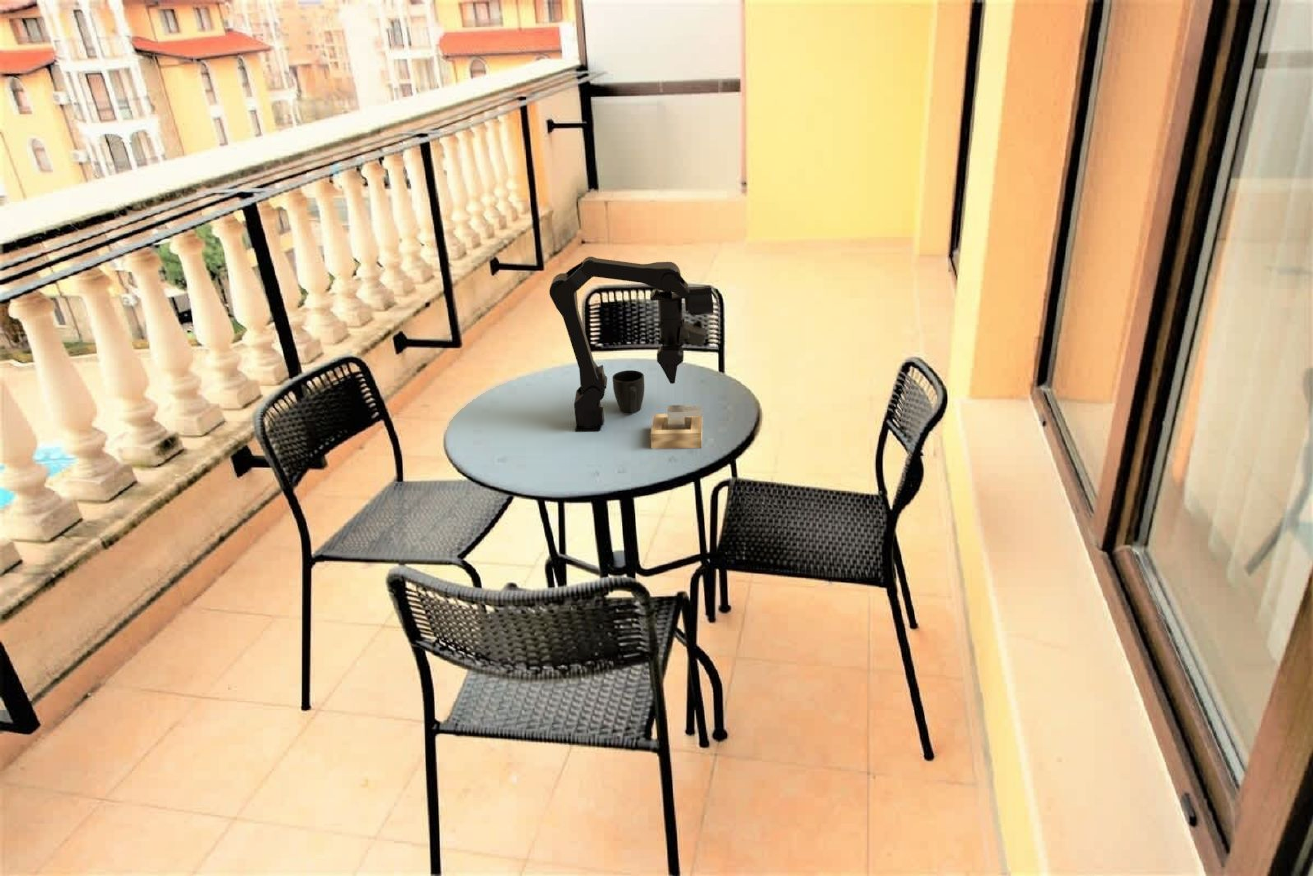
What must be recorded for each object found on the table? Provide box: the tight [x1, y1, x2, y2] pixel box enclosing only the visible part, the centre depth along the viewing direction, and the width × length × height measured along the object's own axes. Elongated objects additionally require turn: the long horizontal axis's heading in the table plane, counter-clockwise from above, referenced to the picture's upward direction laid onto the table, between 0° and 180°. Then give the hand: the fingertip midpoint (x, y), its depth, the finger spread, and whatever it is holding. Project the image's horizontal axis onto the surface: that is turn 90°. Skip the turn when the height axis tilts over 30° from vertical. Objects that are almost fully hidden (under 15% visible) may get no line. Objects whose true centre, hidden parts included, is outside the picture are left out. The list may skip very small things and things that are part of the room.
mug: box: [612, 369, 645, 414], centre depth 219 cm, size 8×12×10 cm
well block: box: [650, 412, 704, 450], centre depth 205 cm, size 12×11×4 cm
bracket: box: [666, 404, 702, 430], centre depth 204 cm, size 8×4×8 cm, turn 86°
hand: (673, 376), depth 209 cm, fingers open, 9 cm apart
